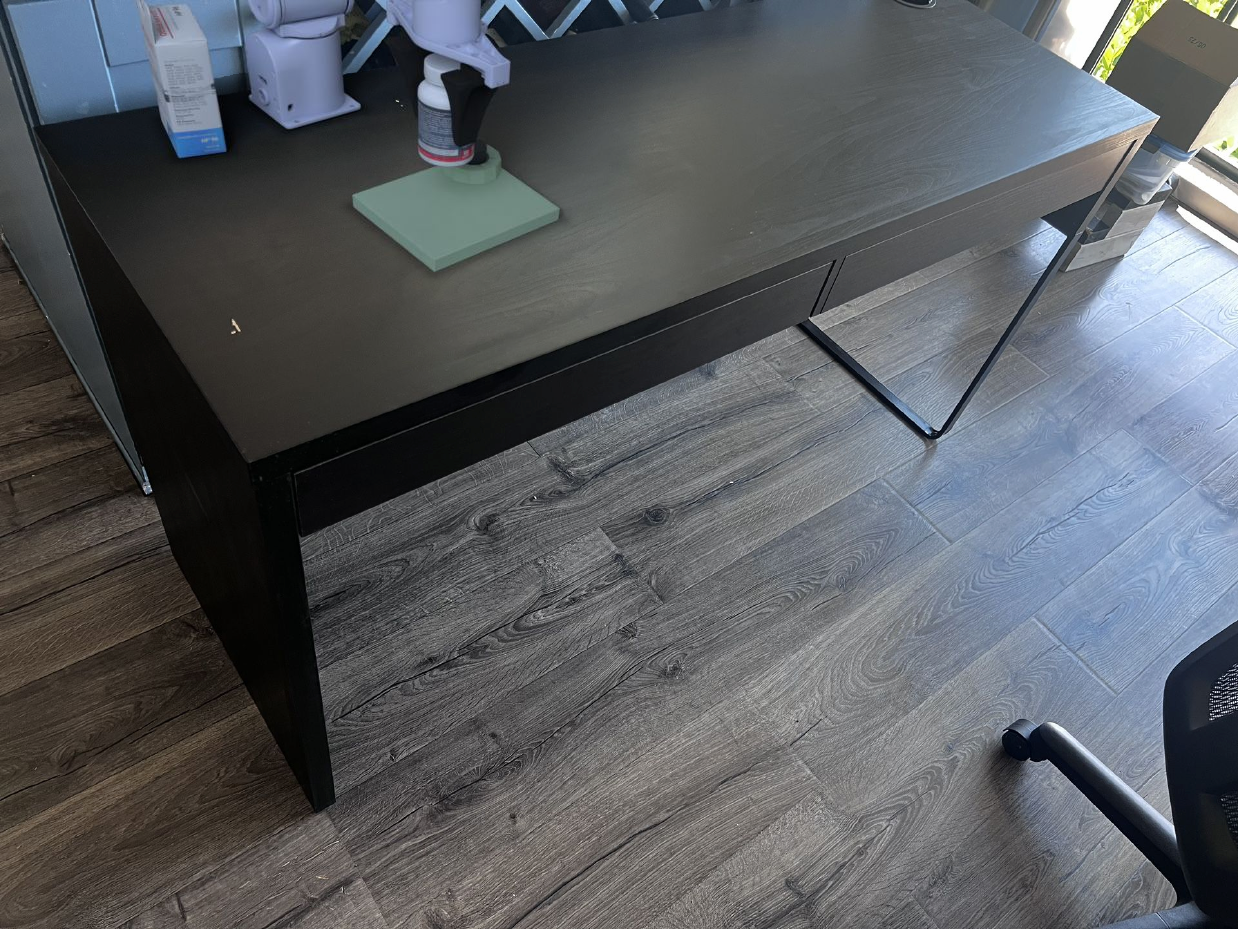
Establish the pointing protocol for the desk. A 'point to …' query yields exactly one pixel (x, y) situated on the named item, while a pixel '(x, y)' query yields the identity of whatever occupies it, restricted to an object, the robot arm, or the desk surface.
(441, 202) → the green flat slab
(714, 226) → the desk surface
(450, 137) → the pill bottle
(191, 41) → the ink box
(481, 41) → the robot arm
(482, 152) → the button
